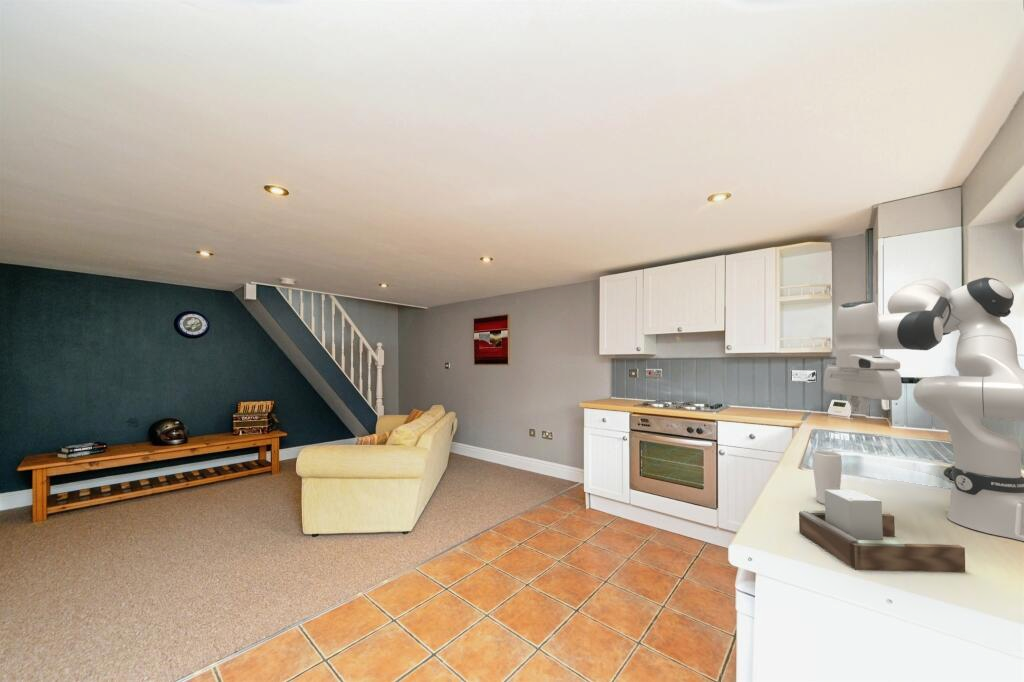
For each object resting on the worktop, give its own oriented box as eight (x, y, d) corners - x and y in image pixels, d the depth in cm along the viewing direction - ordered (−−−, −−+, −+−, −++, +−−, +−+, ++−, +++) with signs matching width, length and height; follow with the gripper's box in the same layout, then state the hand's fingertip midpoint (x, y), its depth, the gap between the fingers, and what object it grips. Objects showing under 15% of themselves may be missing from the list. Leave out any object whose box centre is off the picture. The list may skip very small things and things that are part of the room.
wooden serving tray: (889, 534, 95) (889, 511, 96) (966, 572, 79) (965, 544, 79) (797, 532, 96) (797, 509, 96) (854, 569, 80) (853, 542, 80)
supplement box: (885, 559, 84) (883, 501, 84) (849, 558, 84) (848, 500, 85) (856, 542, 91) (855, 489, 92) (824, 541, 92) (823, 488, 92)
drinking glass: (844, 509, 110) (843, 457, 111) (815, 504, 114) (814, 453, 114) (840, 501, 116) (839, 452, 117) (812, 497, 120) (811, 449, 120)
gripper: (816, 360, 113) (817, 407, 113) (880, 362, 93) (881, 419, 92) (838, 360, 113) (839, 407, 112) (907, 362, 92) (908, 420, 92)
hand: (859, 413), depth 102 cm, fingers closed
